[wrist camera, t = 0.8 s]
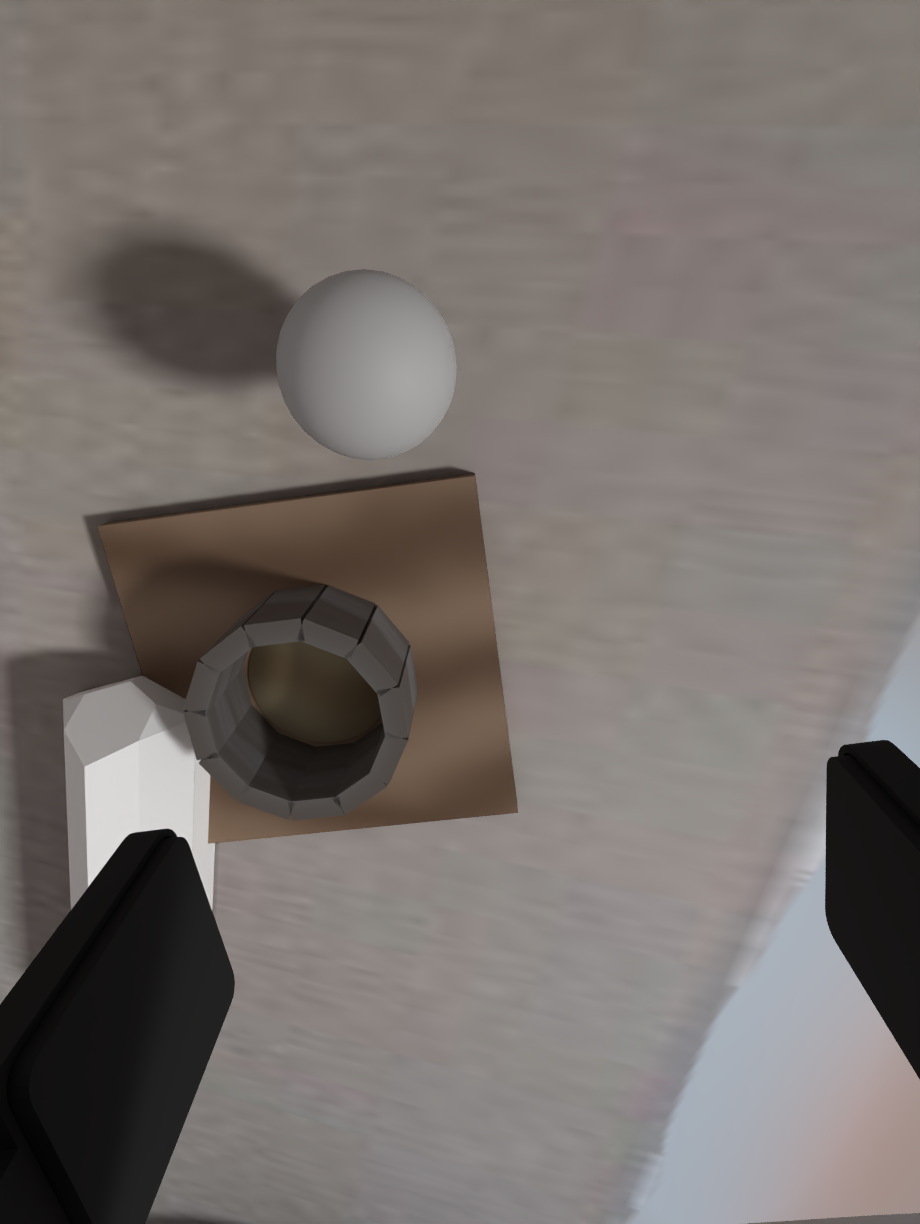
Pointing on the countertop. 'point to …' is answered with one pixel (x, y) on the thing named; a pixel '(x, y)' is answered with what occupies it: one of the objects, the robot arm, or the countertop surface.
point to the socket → (326, 655)
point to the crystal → (131, 776)
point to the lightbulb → (366, 364)
